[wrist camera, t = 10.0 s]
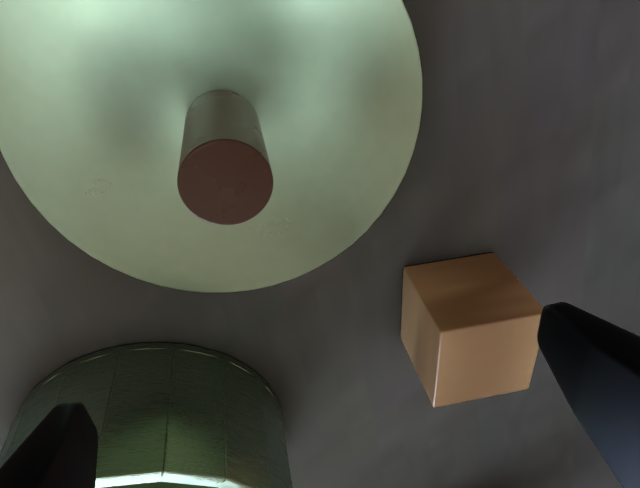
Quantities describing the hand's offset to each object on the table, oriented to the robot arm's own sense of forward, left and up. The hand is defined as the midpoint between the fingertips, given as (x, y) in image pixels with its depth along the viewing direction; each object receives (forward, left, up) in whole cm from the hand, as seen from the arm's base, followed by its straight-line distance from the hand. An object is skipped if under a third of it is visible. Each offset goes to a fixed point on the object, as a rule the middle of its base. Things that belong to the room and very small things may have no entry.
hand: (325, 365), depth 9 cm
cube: (-7, +8, -11) cm, 15 cm away
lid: (+2, -2, -10) cm, 10 cm away
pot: (+8, +14, -11) cm, 19 cm away
